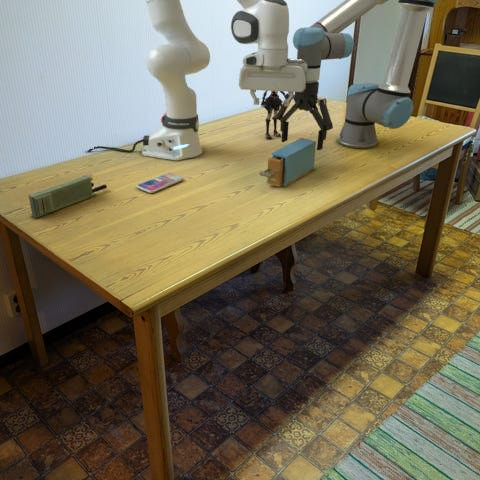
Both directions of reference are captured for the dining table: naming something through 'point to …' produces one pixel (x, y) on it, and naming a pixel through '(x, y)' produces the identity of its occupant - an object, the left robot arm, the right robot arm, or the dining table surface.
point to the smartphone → (159, 182)
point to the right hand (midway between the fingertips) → (301, 145)
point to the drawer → (275, 171)
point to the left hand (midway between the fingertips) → (271, 105)
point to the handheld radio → (62, 195)
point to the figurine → (272, 104)
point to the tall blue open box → (297, 159)
